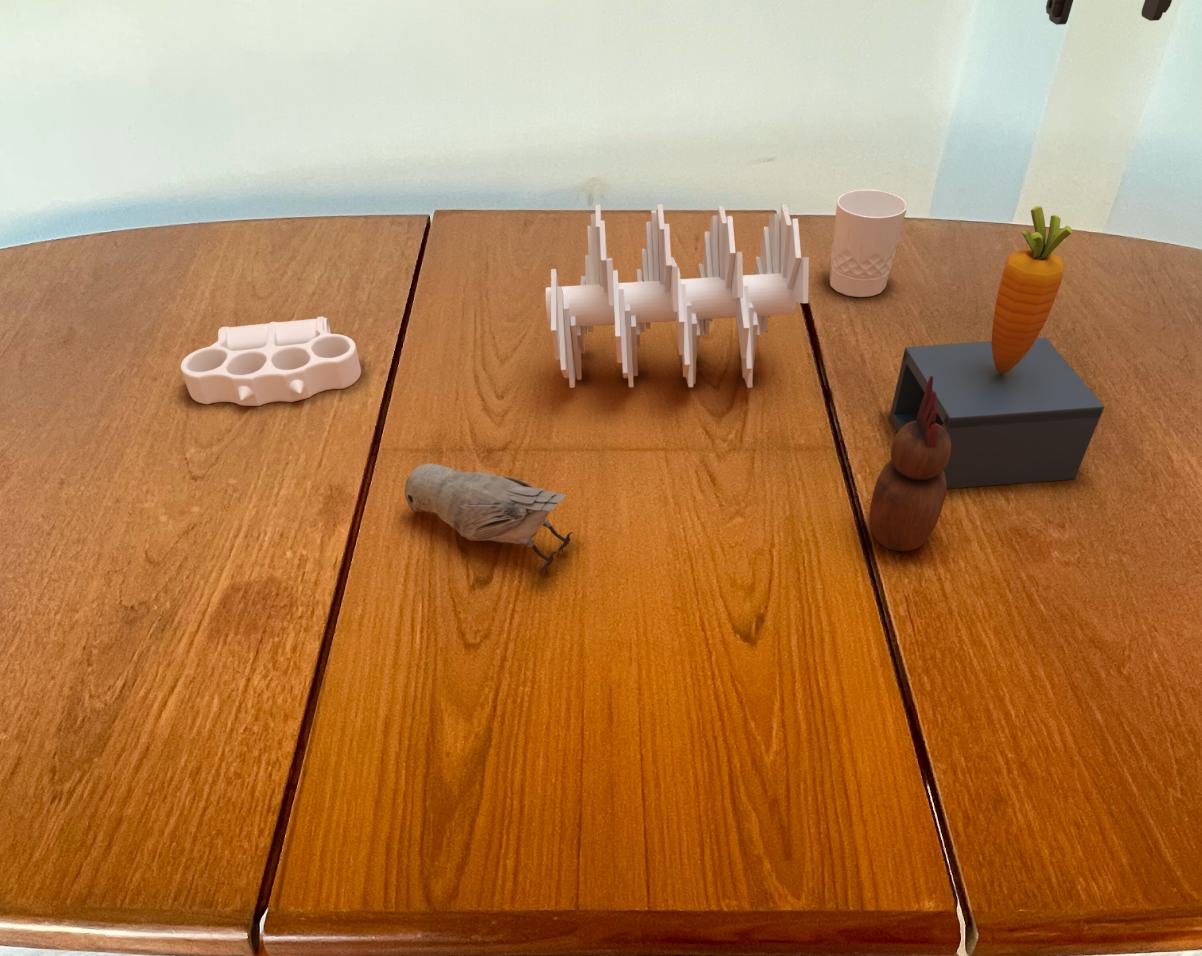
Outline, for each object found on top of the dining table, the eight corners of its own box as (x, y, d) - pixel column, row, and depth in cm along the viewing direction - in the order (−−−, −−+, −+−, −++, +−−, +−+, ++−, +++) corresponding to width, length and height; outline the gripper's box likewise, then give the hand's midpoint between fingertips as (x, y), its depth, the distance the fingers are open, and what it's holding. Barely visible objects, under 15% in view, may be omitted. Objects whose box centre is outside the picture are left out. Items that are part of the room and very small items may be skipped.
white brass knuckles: (359, 332, 112) (362, 401, 102) (198, 349, 110) (184, 422, 100) (354, 305, 110) (356, 373, 100) (188, 322, 108) (173, 393, 97)
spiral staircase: (559, 385, 111) (780, 372, 110) (548, 407, 95) (808, 392, 94) (547, 213, 105) (780, 198, 104) (532, 204, 89) (810, 186, 88)
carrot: (1037, 387, 88) (1094, 223, 77) (983, 389, 88) (1033, 226, 77) (1018, 358, 92) (1070, 198, 81) (965, 360, 91) (1011, 200, 81)
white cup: (858, 264, 123) (872, 183, 116) (904, 288, 118) (922, 206, 111) (810, 280, 120) (822, 199, 113) (856, 306, 115) (871, 223, 108)
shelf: (1022, 407, 100) (1046, 337, 94) (1074, 479, 91) (1104, 406, 86) (888, 417, 99) (905, 346, 93) (929, 490, 90) (950, 417, 85)
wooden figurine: (872, 506, 89) (907, 360, 78) (937, 521, 87) (981, 374, 77) (856, 552, 84) (891, 404, 74) (924, 569, 83) (969, 420, 72)
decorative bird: (430, 495, 91) (419, 428, 86) (581, 548, 85) (579, 480, 80) (395, 528, 87) (381, 461, 82) (550, 586, 82) (546, 518, 77)
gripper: (1110, -210, 72) (1043, 36, 83) (1295, -216, 73) (1203, 29, 84) (1065, -221, 77) (1008, 12, 88) (1238, -226, 78) (1159, 5, 89)
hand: (1103, 20), depth 86 cm, fingers open, 8 cm apart
